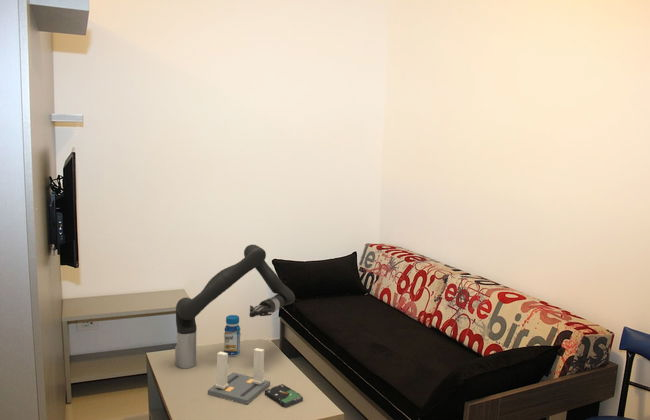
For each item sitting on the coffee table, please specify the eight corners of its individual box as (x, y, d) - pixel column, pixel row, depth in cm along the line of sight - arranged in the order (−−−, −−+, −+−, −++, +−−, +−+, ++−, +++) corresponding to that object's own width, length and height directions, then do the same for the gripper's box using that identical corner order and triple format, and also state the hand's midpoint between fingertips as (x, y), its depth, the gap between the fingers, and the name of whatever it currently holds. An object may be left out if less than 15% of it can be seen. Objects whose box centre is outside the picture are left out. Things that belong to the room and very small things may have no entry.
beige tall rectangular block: (251, 382, 238) (252, 350, 236) (256, 379, 241) (256, 347, 239) (260, 384, 237) (261, 352, 235) (264, 381, 240) (265, 349, 238)
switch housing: (207, 394, 231) (207, 389, 231) (233, 376, 249) (233, 372, 249) (247, 404, 223) (247, 400, 223) (270, 385, 241) (270, 381, 241)
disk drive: (263, 396, 233) (284, 409, 222) (264, 390, 232) (285, 402, 221) (282, 389, 240) (303, 401, 229) (282, 383, 239) (303, 395, 228)
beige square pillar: (215, 387, 233) (215, 353, 231) (220, 383, 236) (220, 350, 234) (223, 389, 231) (224, 355, 229) (228, 385, 234) (229, 352, 232)
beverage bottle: (243, 354, 275) (244, 317, 273) (230, 358, 269) (230, 320, 267) (233, 349, 281) (234, 313, 278) (220, 353, 275) (221, 316, 272)
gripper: (258, 296, 269) (239, 305, 253) (281, 301, 264) (263, 310, 248) (257, 310, 270) (239, 320, 254) (280, 315, 265) (262, 325, 249)
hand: (251, 315), depth 251 cm, fingers closed
